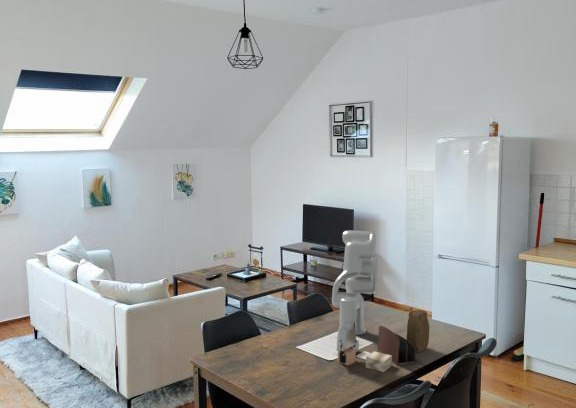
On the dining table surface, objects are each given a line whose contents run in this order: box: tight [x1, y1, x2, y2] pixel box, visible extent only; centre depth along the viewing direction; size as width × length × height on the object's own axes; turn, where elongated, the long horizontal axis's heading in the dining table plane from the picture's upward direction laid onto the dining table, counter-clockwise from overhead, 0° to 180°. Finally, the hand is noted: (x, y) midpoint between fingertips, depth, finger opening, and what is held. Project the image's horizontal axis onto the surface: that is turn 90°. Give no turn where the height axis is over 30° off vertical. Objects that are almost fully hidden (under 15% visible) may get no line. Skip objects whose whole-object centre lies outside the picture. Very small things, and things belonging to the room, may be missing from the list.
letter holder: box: [376, 325, 417, 367], centre depth 262 cm, size 10×20×14 cm, turn 18°
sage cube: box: [342, 338, 360, 353], centre depth 268 cm, size 6×6×6 cm
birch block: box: [365, 350, 393, 373], centre depth 251 cm, size 9×9×5 cm
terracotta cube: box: [337, 347, 357, 366], centre depth 255 cm, size 6×6×6 cm
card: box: [355, 350, 372, 361], centre depth 262 cm, size 8×8×1 cm
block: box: [406, 309, 430, 353], centre depth 271 cm, size 11×8×20 cm
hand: (346, 360), depth 255 cm, fingers closed on terracotta cube, 6 cm apart
